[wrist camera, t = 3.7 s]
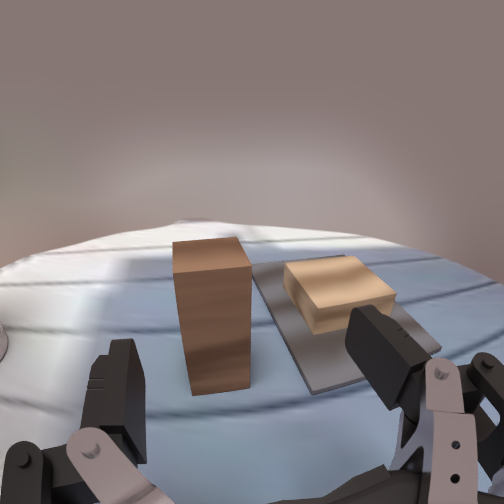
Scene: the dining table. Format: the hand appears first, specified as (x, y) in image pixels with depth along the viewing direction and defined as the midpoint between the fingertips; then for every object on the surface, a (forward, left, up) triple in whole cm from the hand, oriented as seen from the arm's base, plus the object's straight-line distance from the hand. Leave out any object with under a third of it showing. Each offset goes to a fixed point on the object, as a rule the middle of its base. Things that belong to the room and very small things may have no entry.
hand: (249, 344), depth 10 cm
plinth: (+22, -10, -14) cm, 28 cm away
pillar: (+11, +3, -14) cm, 18 cm away
